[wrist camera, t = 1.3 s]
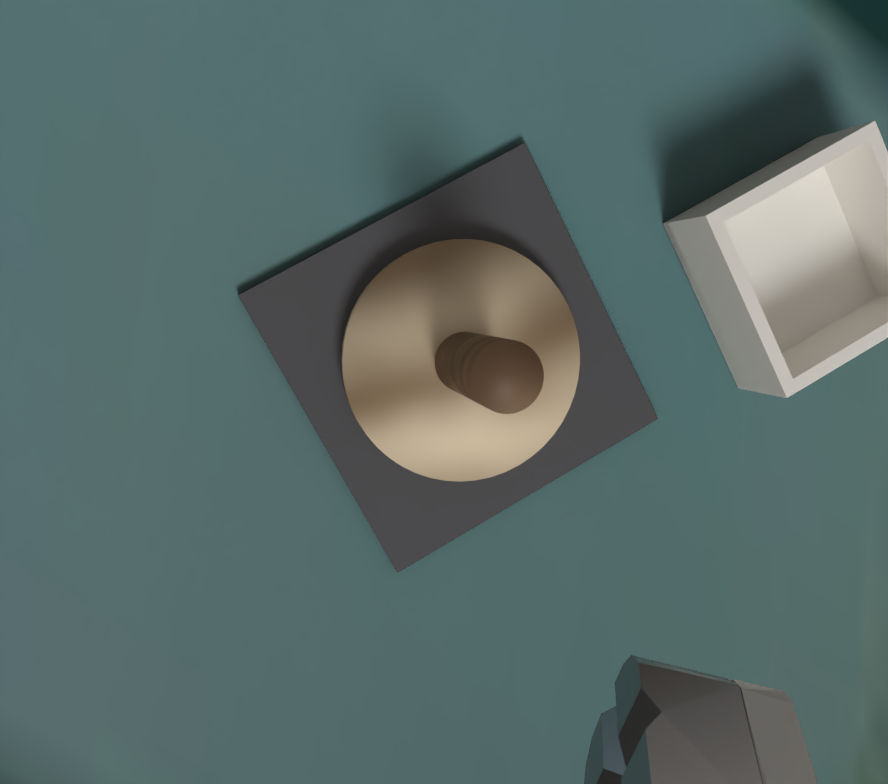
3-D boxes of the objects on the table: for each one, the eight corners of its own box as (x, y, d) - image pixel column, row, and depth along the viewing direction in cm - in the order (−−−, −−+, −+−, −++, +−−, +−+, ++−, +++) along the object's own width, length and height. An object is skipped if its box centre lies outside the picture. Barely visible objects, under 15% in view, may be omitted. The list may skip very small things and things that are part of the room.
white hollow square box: (662, 223, 45) (705, 215, 40) (817, 137, 46) (875, 120, 41) (738, 388, 47) (786, 398, 42) (884, 301, 48) (946, 302, 43)
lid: (296, 312, 41) (301, 316, 32) (508, 197, 42) (569, 171, 34) (413, 520, 43) (448, 577, 35) (611, 404, 45) (692, 430, 36)
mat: (238, 295, 41) (238, 295, 40) (522, 144, 43) (524, 142, 42) (396, 570, 44) (397, 572, 43) (654, 417, 46) (658, 418, 45)
